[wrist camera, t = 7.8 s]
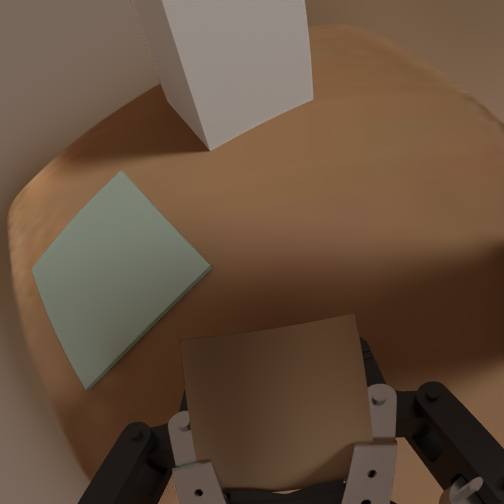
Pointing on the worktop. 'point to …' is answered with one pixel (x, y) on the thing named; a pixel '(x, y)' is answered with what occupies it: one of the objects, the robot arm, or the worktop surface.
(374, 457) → the robot arm
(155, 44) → the milk
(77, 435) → the worktop surface
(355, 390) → the walnut block
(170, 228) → the sage board
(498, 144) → the worktop surface
